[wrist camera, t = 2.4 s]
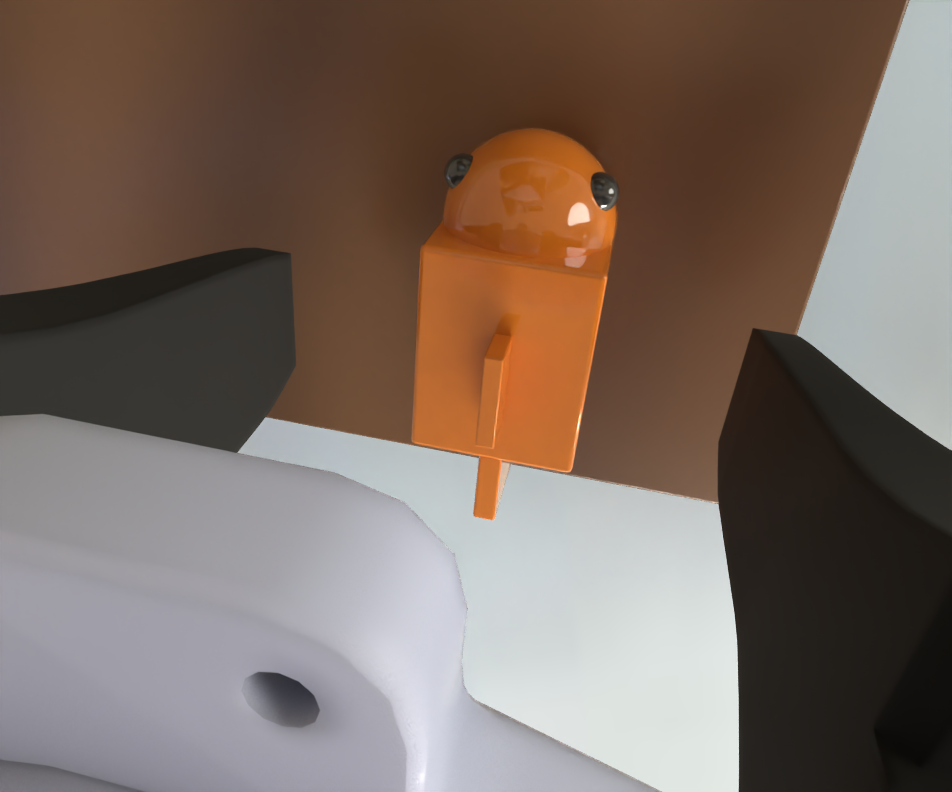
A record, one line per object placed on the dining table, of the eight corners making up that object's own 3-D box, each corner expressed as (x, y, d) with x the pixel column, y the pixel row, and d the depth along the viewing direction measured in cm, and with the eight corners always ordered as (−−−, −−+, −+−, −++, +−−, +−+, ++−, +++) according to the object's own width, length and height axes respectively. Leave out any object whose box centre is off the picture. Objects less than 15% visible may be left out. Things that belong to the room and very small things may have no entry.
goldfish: (576, 439, 16) (554, 570, 13) (448, 415, 17) (393, 536, 13) (635, 120, 13) (625, 185, 9) (471, 100, 13) (406, 154, 10)
